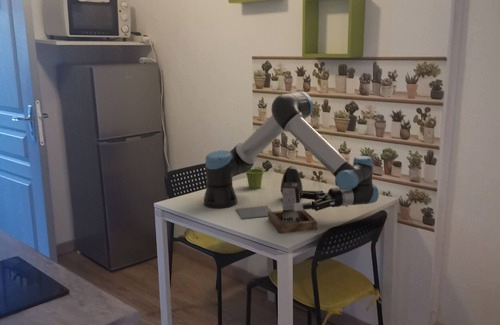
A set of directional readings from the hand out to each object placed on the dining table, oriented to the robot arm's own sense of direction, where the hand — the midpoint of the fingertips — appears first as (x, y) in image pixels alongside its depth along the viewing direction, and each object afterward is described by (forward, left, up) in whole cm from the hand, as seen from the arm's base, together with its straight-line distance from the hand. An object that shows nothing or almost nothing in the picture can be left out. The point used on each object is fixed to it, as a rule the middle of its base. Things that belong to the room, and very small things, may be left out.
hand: (288, 202), depth 194 cm
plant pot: (-1, +57, -10) cm, 58 cm away
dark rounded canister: (+11, +33, -10) cm, 36 cm away
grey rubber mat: (-10, +18, -9) cm, 23 cm away
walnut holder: (+1, 0, -9) cm, 9 cm away
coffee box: (+1, 0, -10) cm, 10 cm away
